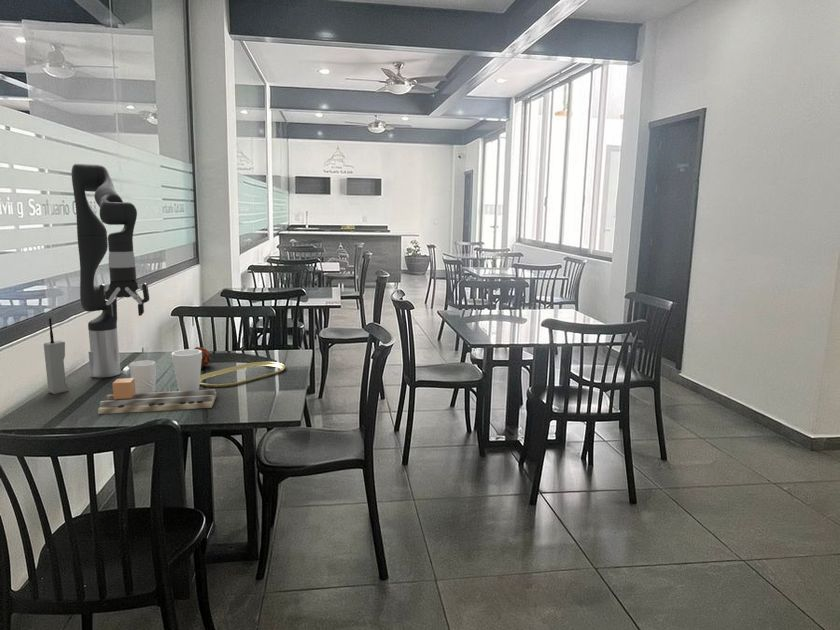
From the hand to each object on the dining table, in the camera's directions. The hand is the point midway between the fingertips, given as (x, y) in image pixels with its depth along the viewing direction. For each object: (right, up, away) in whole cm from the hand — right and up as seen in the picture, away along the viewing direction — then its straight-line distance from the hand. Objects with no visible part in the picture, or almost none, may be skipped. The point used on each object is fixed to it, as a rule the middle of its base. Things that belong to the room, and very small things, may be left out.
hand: (126, 315), depth 194 cm
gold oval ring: (+30, -23, +27) cm, 46 cm away
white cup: (+3, -26, +6) cm, 26 cm away
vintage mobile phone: (-25, -25, +6) cm, 36 cm away
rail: (+14, -28, -7) cm, 32 cm away
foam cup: (+17, -25, +9) cm, 32 cm away
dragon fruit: (+9, -20, +39) cm, 45 cm away
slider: (+4, -26, -9) cm, 28 cm away
